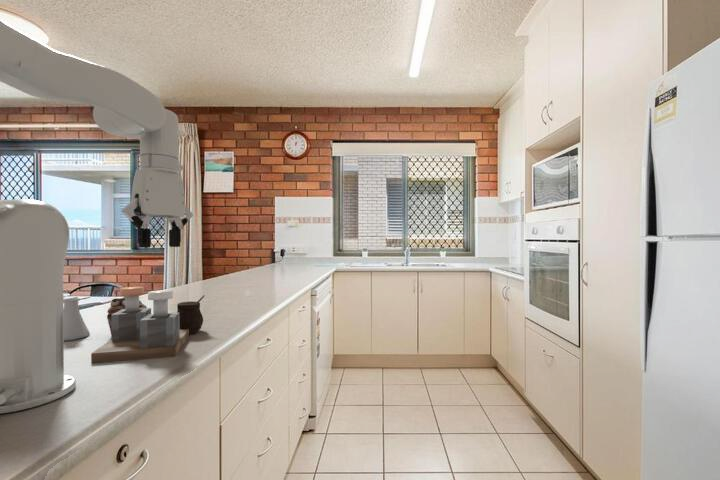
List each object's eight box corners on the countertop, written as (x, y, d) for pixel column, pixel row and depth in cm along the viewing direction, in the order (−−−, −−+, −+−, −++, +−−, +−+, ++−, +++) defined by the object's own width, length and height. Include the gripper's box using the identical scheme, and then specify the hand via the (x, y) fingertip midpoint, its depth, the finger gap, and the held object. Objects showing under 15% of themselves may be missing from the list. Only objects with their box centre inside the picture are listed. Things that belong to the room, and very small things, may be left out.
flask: (96, 334, 94) (96, 296, 94) (71, 342, 87) (71, 301, 87) (71, 333, 95) (71, 296, 95) (44, 341, 88) (44, 301, 88)
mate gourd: (173, 330, 98) (174, 294, 98) (204, 328, 101) (204, 292, 101) (172, 337, 91) (172, 298, 91) (204, 334, 95) (205, 296, 95)
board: (175, 356, 77) (175, 319, 77) (91, 363, 73) (91, 323, 73) (188, 336, 92) (188, 305, 92) (119, 341, 87) (119, 309, 87)
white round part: (170, 319, 78) (169, 292, 78) (145, 321, 77) (145, 293, 77) (175, 315, 83) (174, 289, 82) (151, 316, 81) (151, 290, 81)
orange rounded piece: (140, 314, 83) (140, 289, 83) (116, 315, 82) (116, 289, 82) (146, 310, 88) (146, 286, 88) (124, 311, 87) (124, 287, 87)
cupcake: (136, 339, 90) (136, 299, 90) (97, 339, 90) (97, 299, 90) (157, 329, 100) (157, 293, 99) (122, 329, 99) (122, 293, 99)
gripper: (184, 173, 89) (185, 246, 89) (108, 160, 74) (108, 248, 74) (204, 171, 85) (205, 246, 85) (128, 156, 70) (128, 248, 70)
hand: (160, 246), depth 79 cm, fingers open, 6 cm apart
